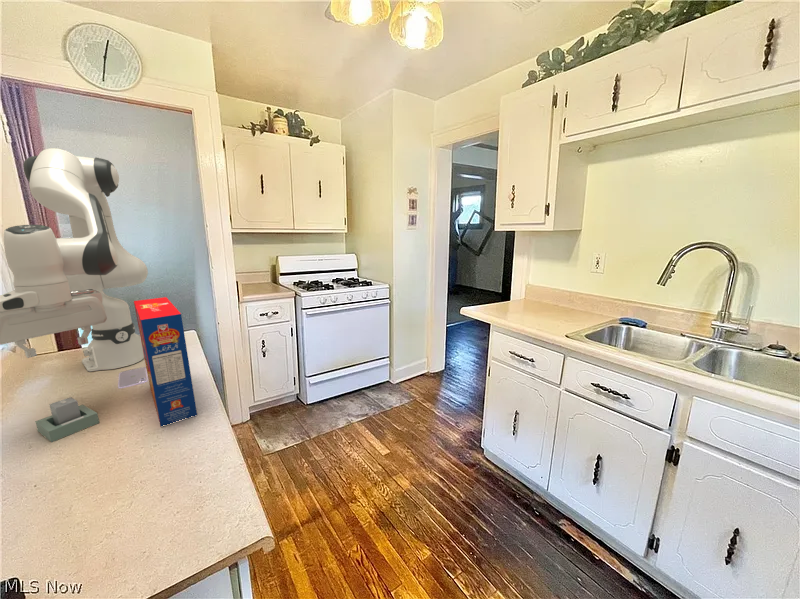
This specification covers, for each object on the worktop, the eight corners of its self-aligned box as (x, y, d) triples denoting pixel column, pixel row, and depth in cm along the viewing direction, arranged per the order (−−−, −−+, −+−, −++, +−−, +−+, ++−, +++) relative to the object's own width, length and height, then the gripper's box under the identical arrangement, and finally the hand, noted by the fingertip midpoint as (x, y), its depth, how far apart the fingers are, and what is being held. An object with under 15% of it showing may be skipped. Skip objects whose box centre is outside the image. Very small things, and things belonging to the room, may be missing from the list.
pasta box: (150, 388, 105) (133, 301, 99) (180, 380, 110) (166, 297, 104) (160, 427, 84) (140, 319, 78) (197, 415, 89) (181, 313, 83)
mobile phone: (145, 365, 120) (147, 380, 109) (146, 368, 120) (148, 382, 109) (118, 371, 116) (117, 387, 104) (119, 374, 116) (118, 390, 104)
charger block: (54, 426, 83) (49, 403, 82) (76, 418, 87) (70, 396, 86) (61, 430, 82) (55, 407, 80) (82, 422, 85) (77, 400, 84)
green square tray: (37, 431, 83) (35, 420, 82) (84, 413, 90) (82, 404, 90) (51, 442, 78) (48, 431, 78) (99, 422, 86) (97, 412, 85)
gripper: (94, 286, 90) (105, 335, 93) (-25, 302, 72) (-7, 362, 75) (105, 288, 87) (115, 339, 90) (-18, 306, 69) (1, 367, 72)
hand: (58, 349), depth 82 cm, fingers open, 8 cm apart
